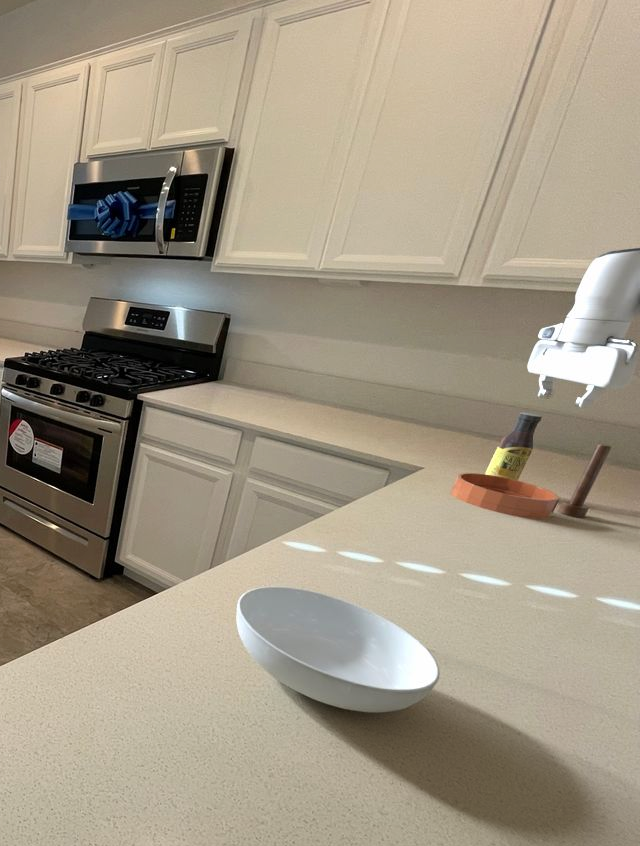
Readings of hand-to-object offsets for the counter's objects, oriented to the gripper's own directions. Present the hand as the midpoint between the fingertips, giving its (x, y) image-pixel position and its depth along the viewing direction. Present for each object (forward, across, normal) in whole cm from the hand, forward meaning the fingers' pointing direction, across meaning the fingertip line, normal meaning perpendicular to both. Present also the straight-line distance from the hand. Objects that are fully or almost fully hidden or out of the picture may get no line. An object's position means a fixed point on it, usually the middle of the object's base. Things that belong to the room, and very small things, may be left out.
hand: (562, 402), depth 121 cm
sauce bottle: (+27, +25, -13) cm, 39 cm away
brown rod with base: (+27, +10, -19) cm, 34 cm away
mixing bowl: (+27, +7, -1) cm, 28 cm away
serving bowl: (+26, -72, +70) cm, 104 cm away
